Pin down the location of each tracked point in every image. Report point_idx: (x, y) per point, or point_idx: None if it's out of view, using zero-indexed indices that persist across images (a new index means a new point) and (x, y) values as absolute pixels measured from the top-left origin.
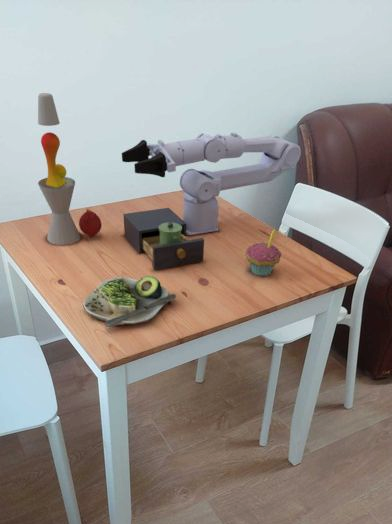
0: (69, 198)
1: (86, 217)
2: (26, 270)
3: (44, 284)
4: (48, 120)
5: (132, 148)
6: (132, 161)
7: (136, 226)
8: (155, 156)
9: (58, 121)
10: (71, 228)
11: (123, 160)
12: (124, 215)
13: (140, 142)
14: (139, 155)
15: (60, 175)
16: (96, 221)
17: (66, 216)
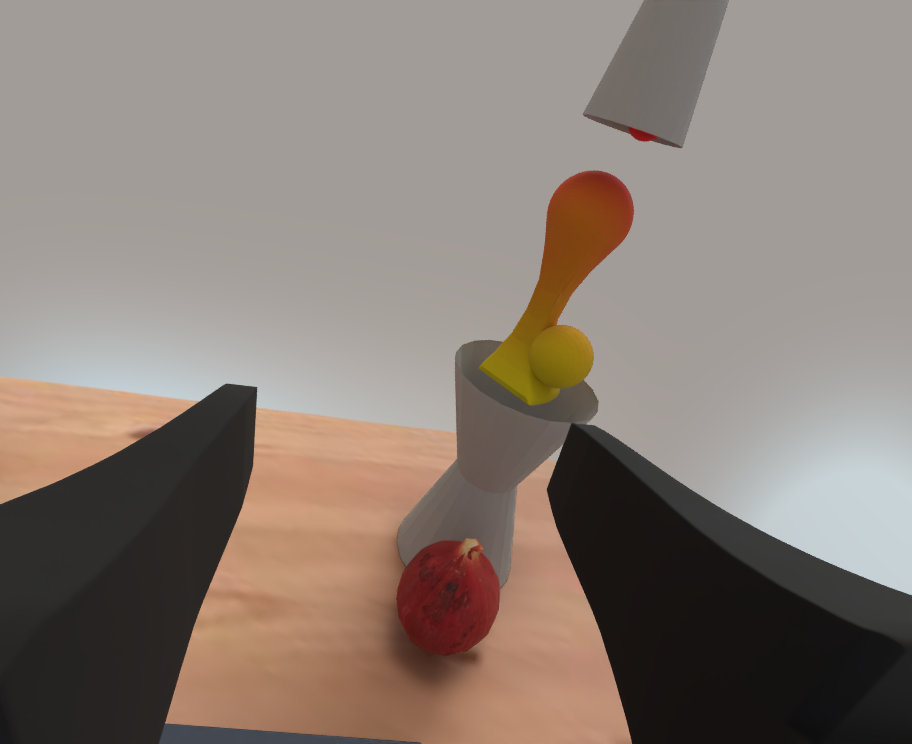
0: (471, 435)
1: (436, 545)
2: (290, 412)
3: (182, 408)
4: (597, 90)
5: (679, 492)
6: (584, 584)
7: (172, 738)
8: (73, 537)
9: (629, 111)
10: (432, 526)
11: (551, 481)
12: (398, 741)
13: (876, 587)
14: (654, 635)
15: (529, 354)
16: (416, 591)
17: (454, 483)
